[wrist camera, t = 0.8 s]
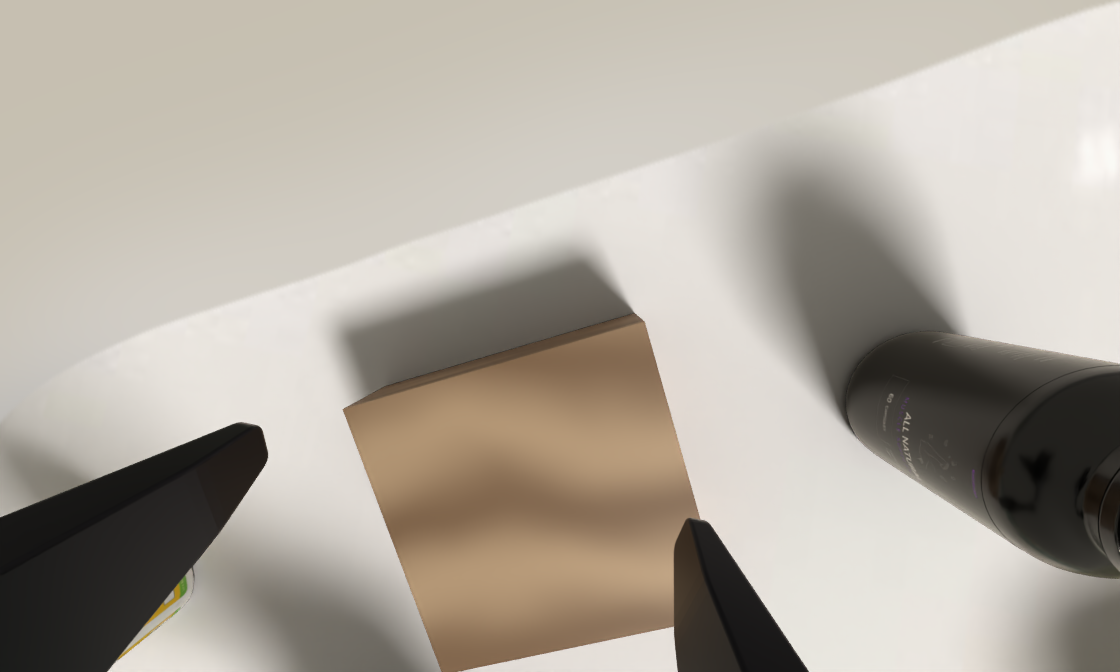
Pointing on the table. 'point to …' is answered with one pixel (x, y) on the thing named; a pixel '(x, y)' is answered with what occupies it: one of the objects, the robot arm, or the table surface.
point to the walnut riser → (532, 494)
